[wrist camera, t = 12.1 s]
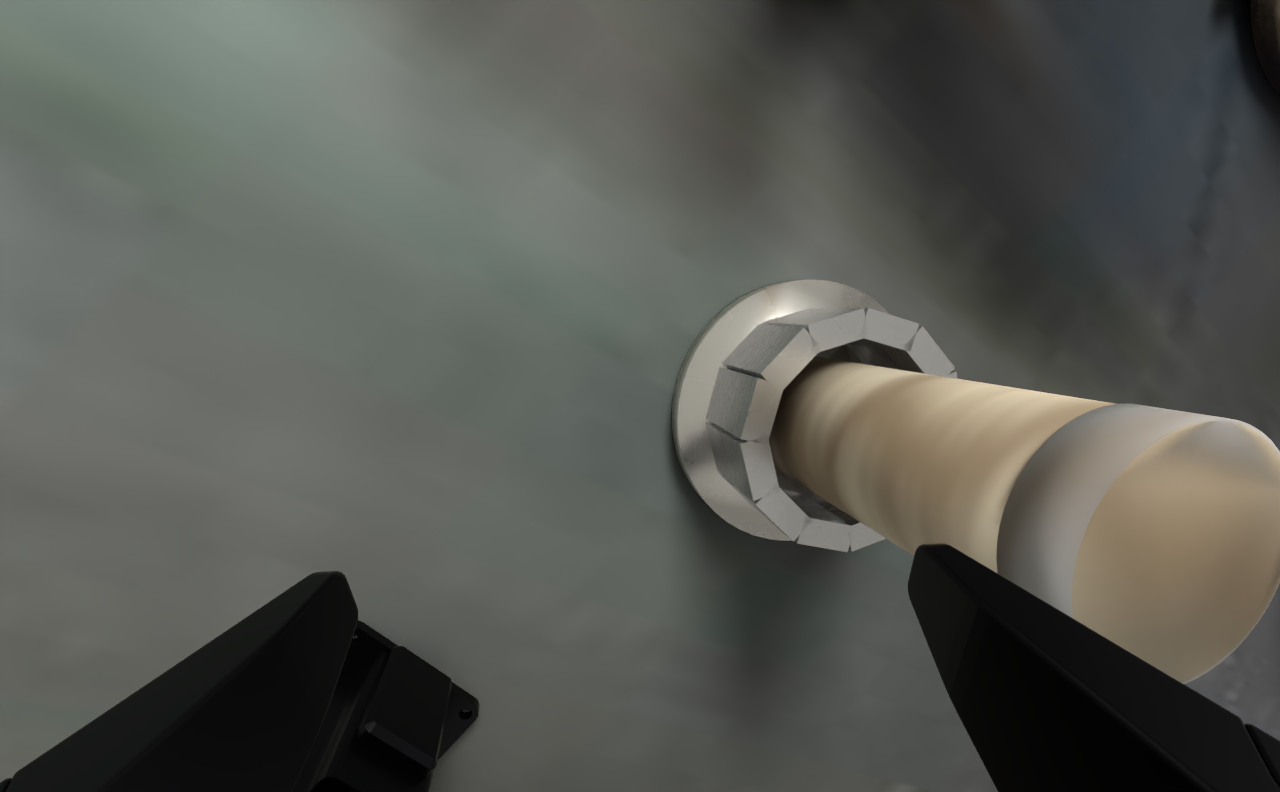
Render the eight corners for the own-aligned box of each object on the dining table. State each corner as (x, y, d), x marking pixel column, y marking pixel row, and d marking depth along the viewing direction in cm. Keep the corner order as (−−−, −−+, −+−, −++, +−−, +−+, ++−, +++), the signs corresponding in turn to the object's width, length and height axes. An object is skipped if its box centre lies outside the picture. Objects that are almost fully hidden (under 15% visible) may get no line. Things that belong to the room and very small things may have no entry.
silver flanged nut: (785, 577, 24) (843, 637, 20) (616, 419, 21) (640, 447, 17) (947, 403, 24) (1039, 424, 20) (802, 223, 21) (873, 202, 17)
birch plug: (832, 490, 23) (1216, 713, 10) (729, 455, 21) (1023, 662, 9) (877, 378, 22) (1337, 467, 10) (775, 336, 21) (1152, 375, 8)
